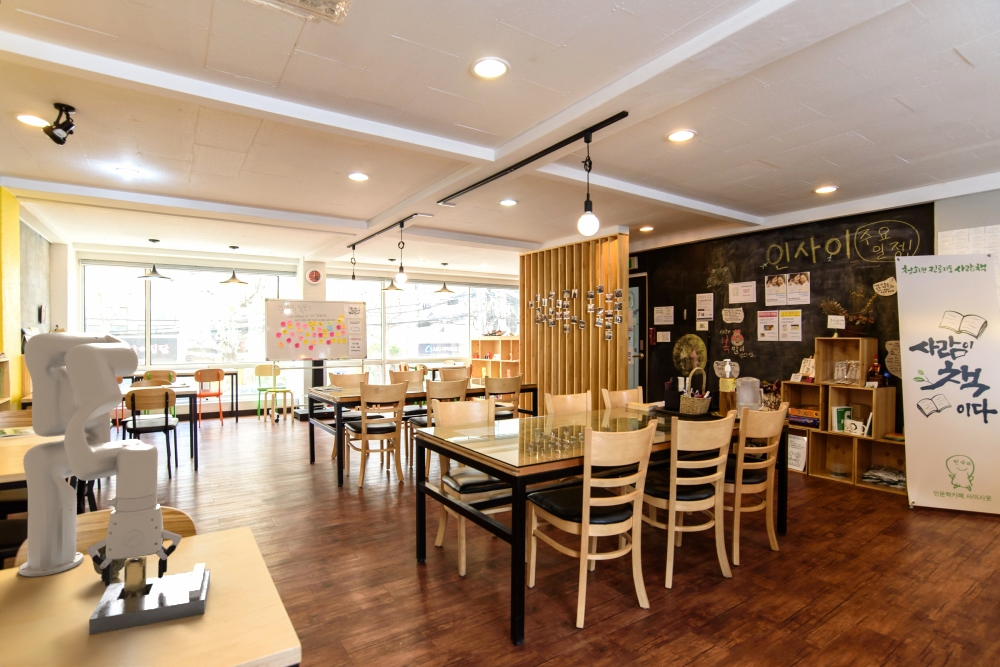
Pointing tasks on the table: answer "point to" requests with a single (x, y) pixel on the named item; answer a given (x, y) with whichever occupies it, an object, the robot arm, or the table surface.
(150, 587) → the plate
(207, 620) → the table surface
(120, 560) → the cup
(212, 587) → the table surface
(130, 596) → the brass bushing
